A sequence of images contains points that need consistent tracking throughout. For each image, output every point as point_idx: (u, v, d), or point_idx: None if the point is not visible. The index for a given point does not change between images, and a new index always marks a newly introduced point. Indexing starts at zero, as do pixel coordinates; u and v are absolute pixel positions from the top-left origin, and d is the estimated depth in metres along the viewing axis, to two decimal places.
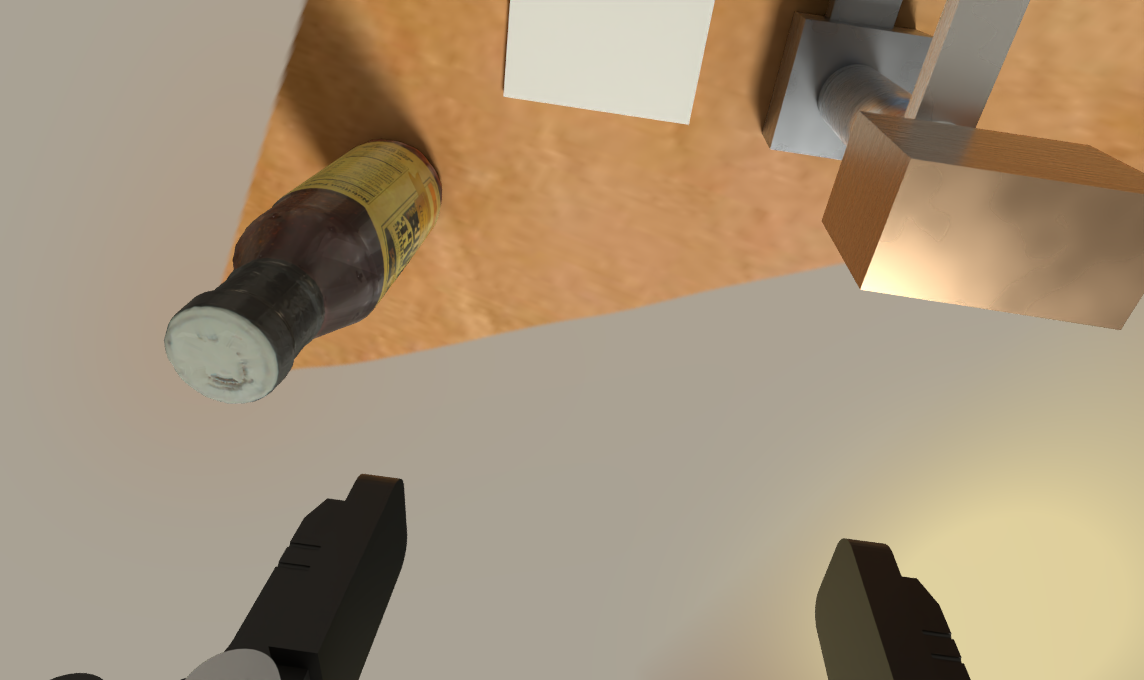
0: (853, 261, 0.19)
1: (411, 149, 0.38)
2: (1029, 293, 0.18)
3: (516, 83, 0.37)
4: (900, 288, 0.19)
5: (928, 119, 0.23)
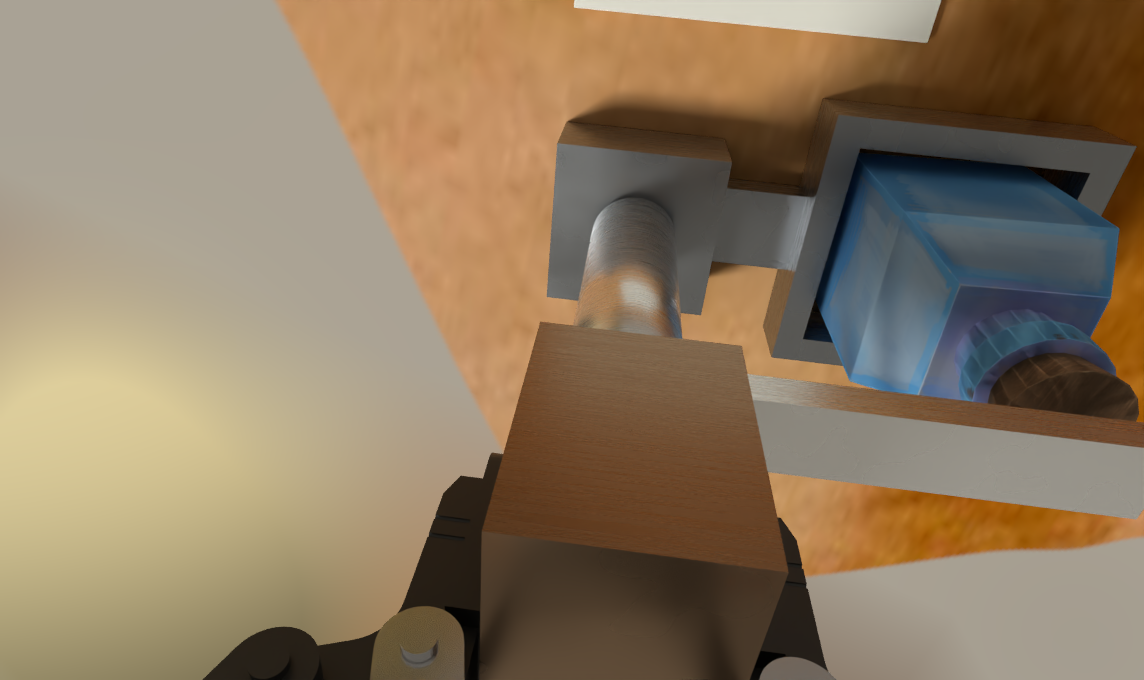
0: (522, 469, 0.09)
1: None
2: None
3: None
4: (496, 589, 0.09)
5: None
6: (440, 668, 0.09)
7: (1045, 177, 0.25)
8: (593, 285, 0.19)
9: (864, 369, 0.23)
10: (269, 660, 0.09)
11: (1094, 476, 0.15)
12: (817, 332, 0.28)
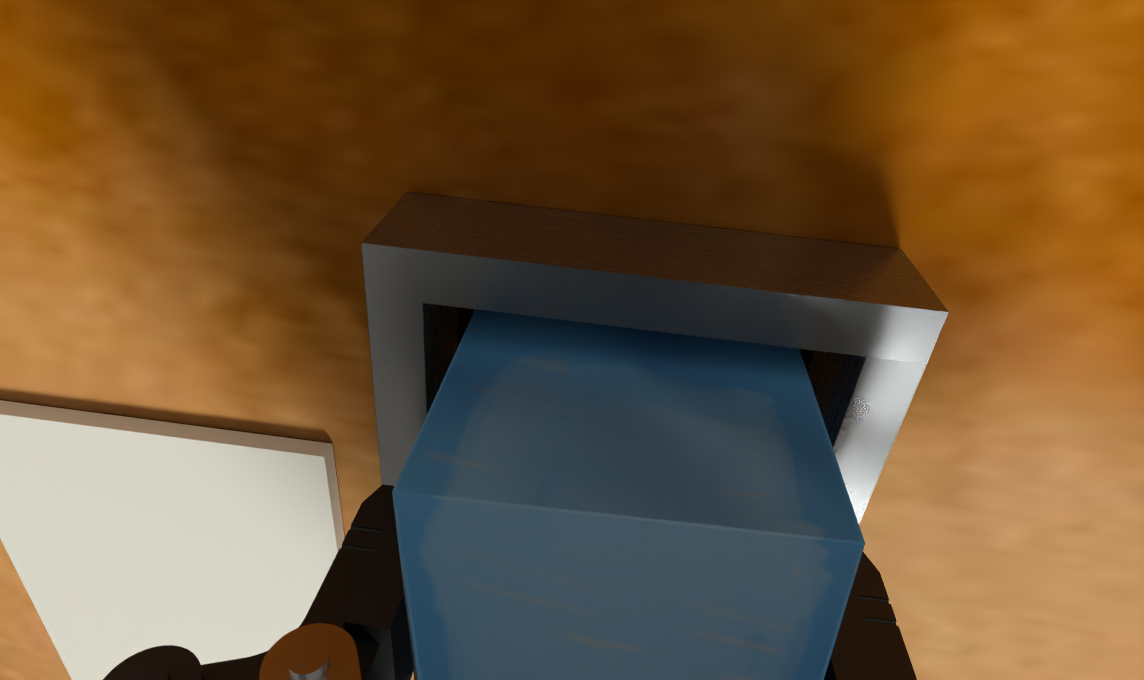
0: None
1: None
2: None
3: (86, 675, 0.23)
4: None
5: None
6: None
7: None
8: None
9: None
10: None
11: None
12: None
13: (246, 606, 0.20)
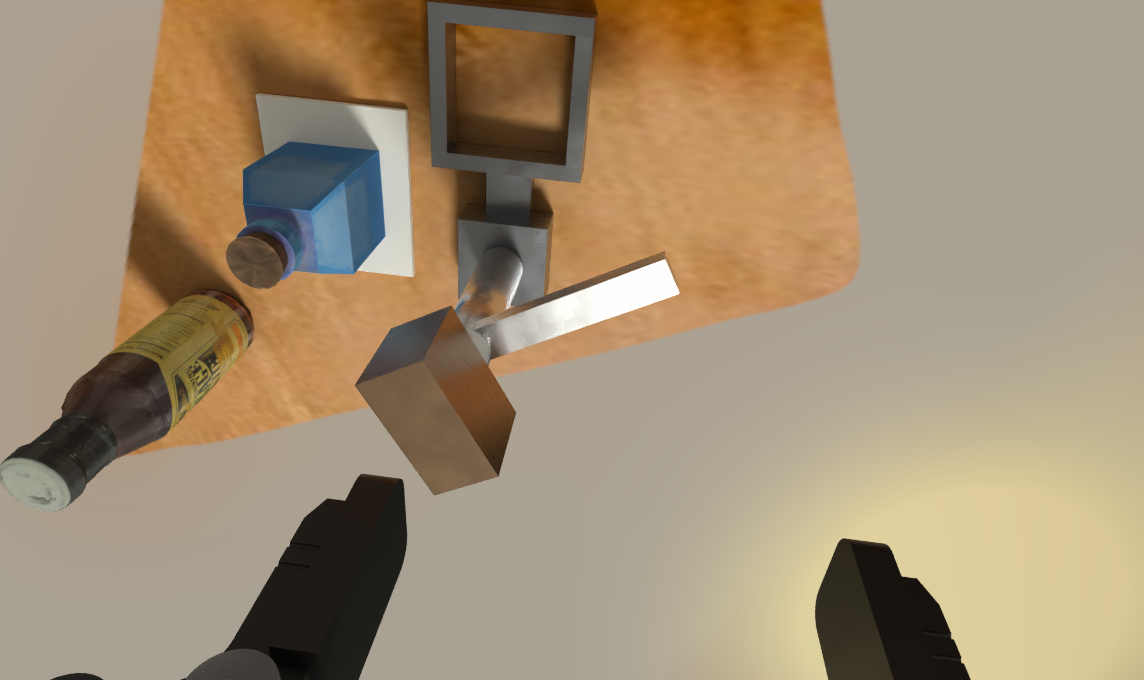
0: (369, 369, 0.32)
1: (222, 298, 0.53)
2: (416, 451, 0.32)
3: None
4: (370, 401, 0.31)
5: (482, 334, 0.37)
6: None
7: None
8: None
9: None
10: None
11: (644, 285, 0.35)
12: None
13: None
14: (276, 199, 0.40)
